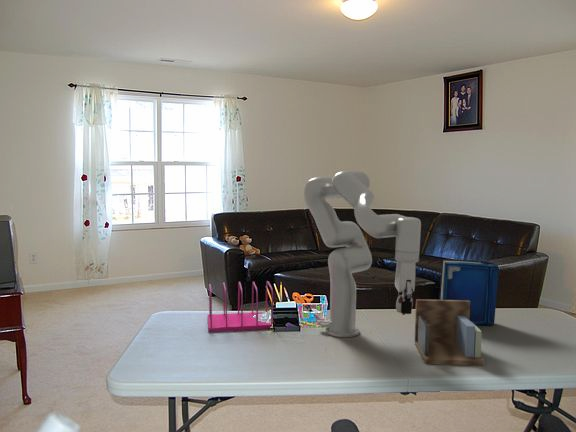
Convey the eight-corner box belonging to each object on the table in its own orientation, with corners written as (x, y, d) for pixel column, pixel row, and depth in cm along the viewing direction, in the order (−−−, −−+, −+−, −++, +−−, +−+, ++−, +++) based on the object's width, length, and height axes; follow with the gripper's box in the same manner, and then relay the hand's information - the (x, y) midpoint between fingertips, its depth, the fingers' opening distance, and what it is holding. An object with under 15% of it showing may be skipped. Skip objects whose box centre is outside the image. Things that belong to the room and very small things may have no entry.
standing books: (465, 356, 157) (466, 326, 156) (455, 344, 168) (457, 315, 167) (480, 357, 157) (481, 326, 156) (469, 344, 168) (471, 316, 167)
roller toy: (414, 312, 162) (415, 294, 161) (407, 317, 157) (408, 299, 156) (401, 309, 164) (402, 292, 164) (394, 314, 159) (395, 296, 159)
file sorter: (275, 329, 188) (275, 288, 186) (208, 332, 183) (208, 291, 182) (268, 315, 205) (268, 278, 203) (207, 318, 200) (207, 280, 199)
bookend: (424, 355, 158) (425, 325, 157) (417, 343, 169) (418, 314, 168) (428, 355, 158) (429, 325, 157) (421, 343, 169) (422, 315, 168)
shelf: (425, 363, 155) (427, 314, 154) (414, 344, 173) (415, 299, 171) (483, 365, 154) (486, 315, 153) (467, 345, 172) (469, 300, 170)
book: (492, 321, 199) (495, 260, 197) (498, 327, 192) (501, 263, 190) (437, 319, 201) (439, 258, 199) (440, 324, 194) (443, 262, 192)
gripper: (391, 250, 167) (388, 301, 169) (399, 261, 150) (396, 318, 152) (413, 251, 167) (410, 302, 169) (424, 261, 150) (421, 319, 152)
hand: (404, 309), depth 161 cm, fingers closed on roller toy, 6 cm apart
